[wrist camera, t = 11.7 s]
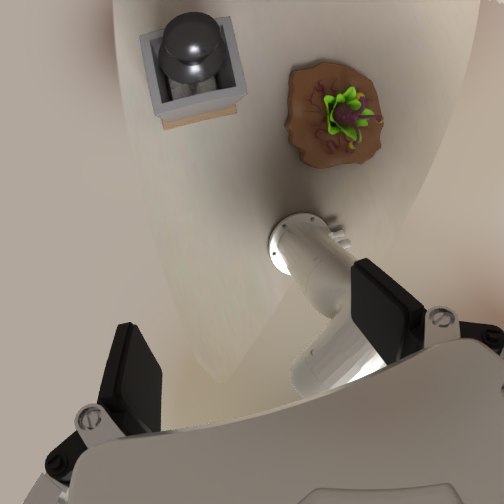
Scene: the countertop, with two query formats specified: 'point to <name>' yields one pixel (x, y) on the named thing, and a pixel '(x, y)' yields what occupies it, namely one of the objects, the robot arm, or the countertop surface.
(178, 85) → the plunger
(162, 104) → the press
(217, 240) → the countertop surface
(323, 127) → the plant
